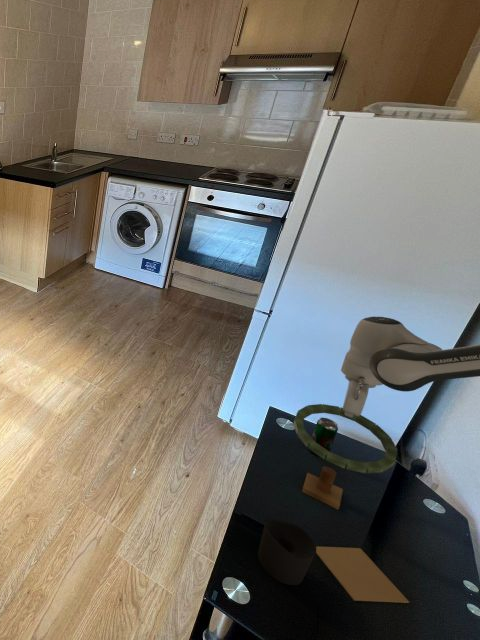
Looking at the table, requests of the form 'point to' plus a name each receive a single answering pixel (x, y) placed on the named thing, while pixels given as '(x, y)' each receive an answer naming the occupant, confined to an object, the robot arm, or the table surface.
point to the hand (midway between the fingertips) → (348, 412)
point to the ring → (340, 461)
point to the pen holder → (285, 551)
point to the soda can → (325, 433)
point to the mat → (359, 575)
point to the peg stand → (323, 487)
